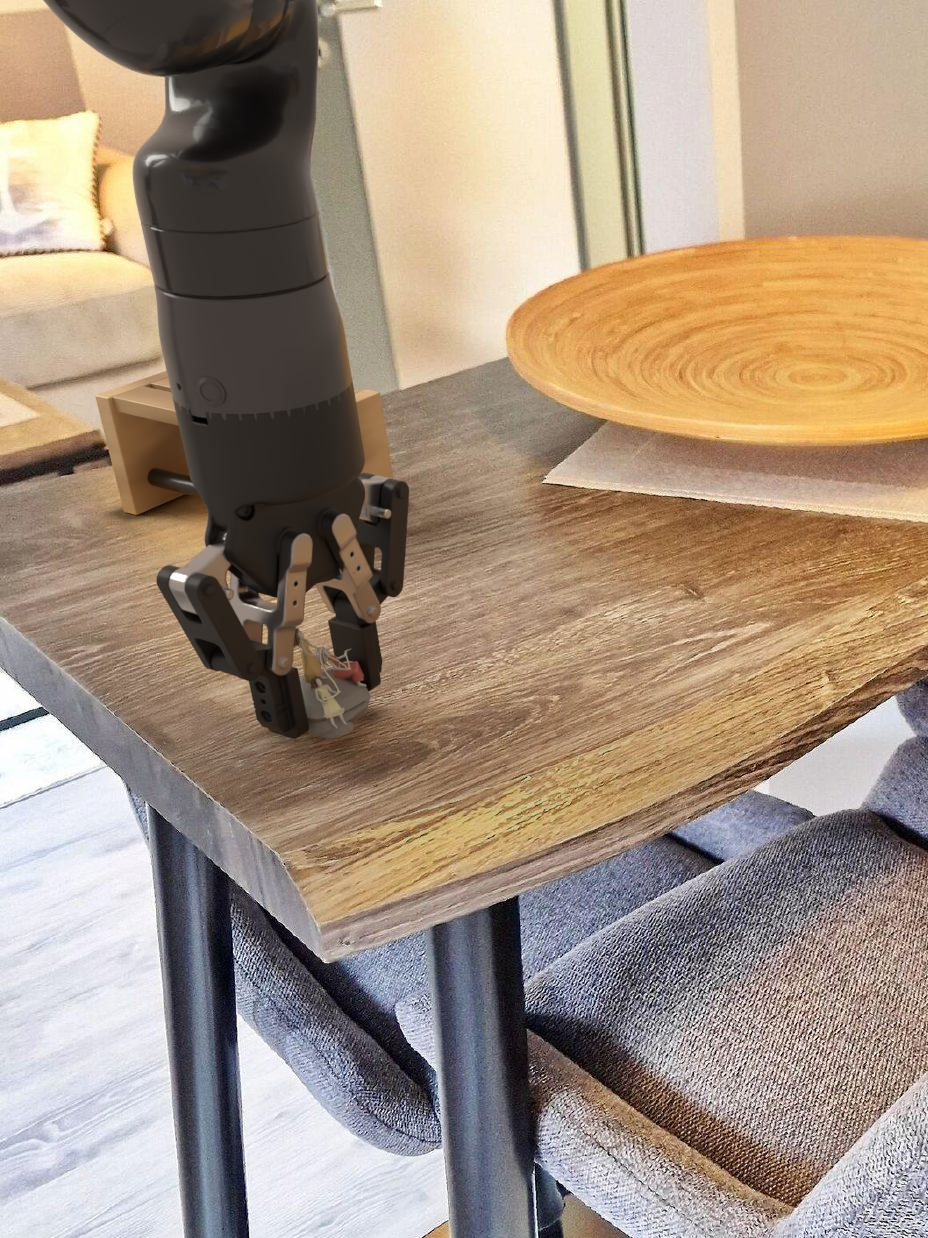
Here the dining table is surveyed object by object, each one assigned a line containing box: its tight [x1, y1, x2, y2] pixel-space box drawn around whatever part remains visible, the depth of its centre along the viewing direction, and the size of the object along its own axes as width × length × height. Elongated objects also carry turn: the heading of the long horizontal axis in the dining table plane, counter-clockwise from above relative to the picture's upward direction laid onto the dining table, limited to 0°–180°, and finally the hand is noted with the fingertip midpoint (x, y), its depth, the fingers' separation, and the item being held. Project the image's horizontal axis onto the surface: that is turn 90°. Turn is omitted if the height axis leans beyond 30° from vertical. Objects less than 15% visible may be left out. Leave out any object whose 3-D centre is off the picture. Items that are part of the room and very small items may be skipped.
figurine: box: [294, 627, 371, 739], centre depth 74 cm, size 5×4×6 cm
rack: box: [94, 370, 394, 516], centre depth 97 cm, size 9×15×8 cm, turn 65°
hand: (324, 707), depth 75 cm, fingers closed on figurine, 4 cm apart
